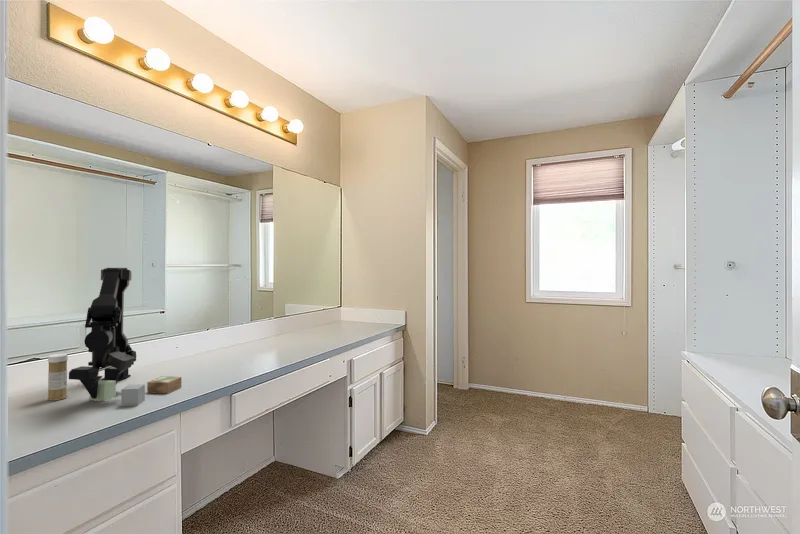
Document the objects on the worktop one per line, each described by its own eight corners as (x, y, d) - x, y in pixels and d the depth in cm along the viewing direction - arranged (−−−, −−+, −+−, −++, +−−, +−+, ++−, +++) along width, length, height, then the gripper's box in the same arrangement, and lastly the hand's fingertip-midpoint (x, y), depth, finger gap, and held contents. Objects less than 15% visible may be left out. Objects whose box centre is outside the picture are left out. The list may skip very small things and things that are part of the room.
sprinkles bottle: (54, 396, 126) (55, 353, 125) (70, 396, 126) (71, 352, 126) (43, 401, 121) (43, 356, 121) (59, 401, 121) (60, 356, 121)
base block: (147, 392, 130) (147, 381, 130) (161, 386, 137) (161, 375, 137) (168, 393, 130) (168, 382, 130) (181, 387, 137) (181, 376, 137)
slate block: (121, 406, 118) (121, 389, 118) (128, 401, 123) (128, 384, 122) (138, 405, 119) (138, 388, 119) (144, 400, 123) (144, 384, 123)
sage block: (90, 400, 122) (90, 384, 122) (102, 395, 127) (102, 380, 127) (104, 401, 122) (104, 384, 122) (115, 396, 127) (115, 380, 127)
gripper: (104, 351, 115) (103, 406, 115) (149, 339, 133) (149, 386, 133) (67, 350, 115) (66, 405, 115) (117, 338, 134) (116, 385, 134)
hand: (103, 394), depth 125 cm, fingers open, 6 cm apart
